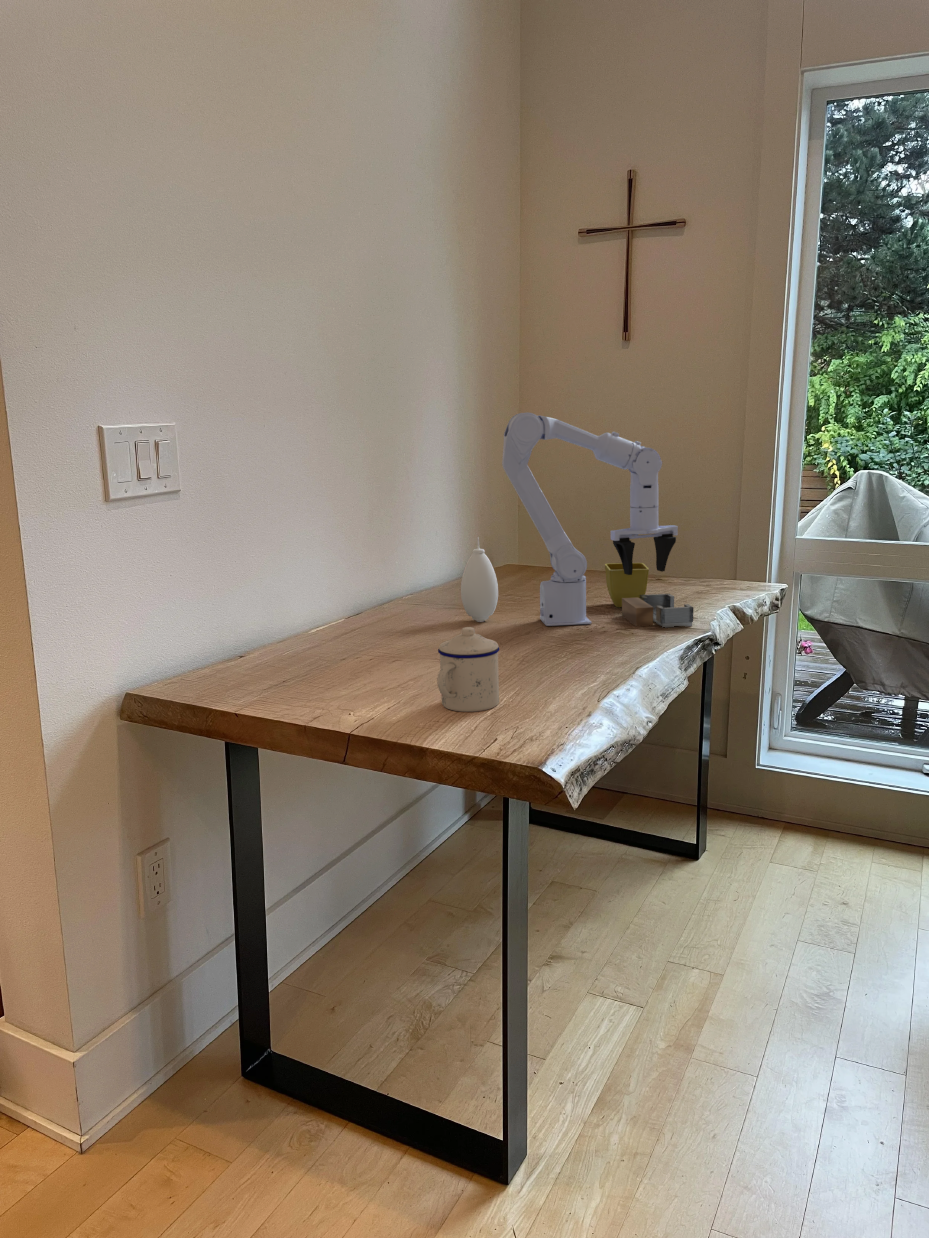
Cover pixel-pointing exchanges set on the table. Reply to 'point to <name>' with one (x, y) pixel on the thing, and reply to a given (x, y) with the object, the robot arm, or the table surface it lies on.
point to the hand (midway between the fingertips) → (644, 572)
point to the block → (637, 611)
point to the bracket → (668, 610)
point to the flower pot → (626, 582)
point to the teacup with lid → (468, 672)
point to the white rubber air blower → (479, 586)
